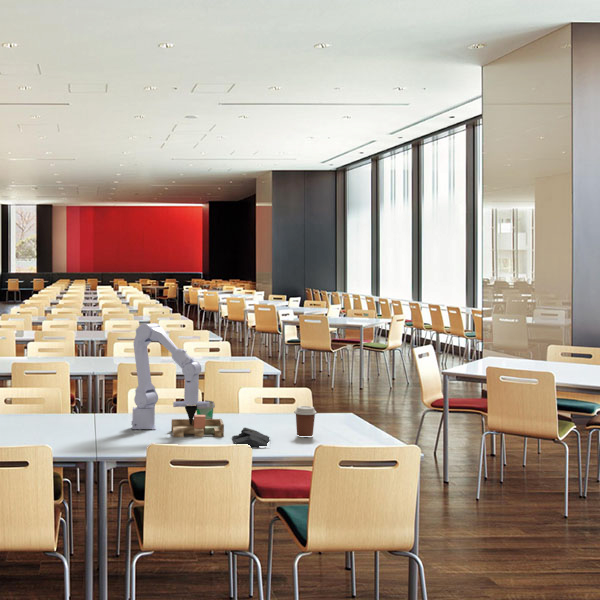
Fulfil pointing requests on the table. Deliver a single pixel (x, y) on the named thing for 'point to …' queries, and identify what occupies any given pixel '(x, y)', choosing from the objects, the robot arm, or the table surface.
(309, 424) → the coffee cup
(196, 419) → the clay-red block
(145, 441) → the table surface
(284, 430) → the table surface
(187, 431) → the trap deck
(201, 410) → the food container
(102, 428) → the table surface
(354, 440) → the table surface
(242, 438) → the dark slate chunk
